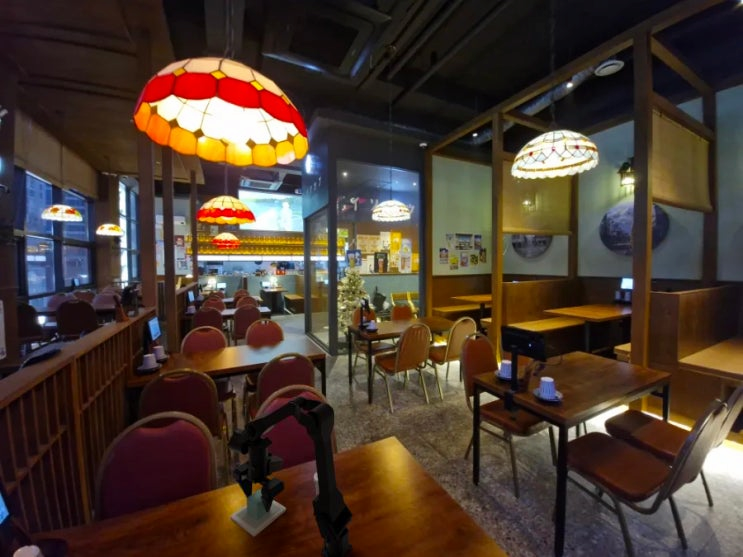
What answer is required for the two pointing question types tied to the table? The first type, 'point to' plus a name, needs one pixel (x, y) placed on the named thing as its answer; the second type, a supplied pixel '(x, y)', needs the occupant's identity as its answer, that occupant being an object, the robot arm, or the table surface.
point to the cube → (255, 505)
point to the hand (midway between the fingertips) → (258, 505)
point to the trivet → (258, 525)
